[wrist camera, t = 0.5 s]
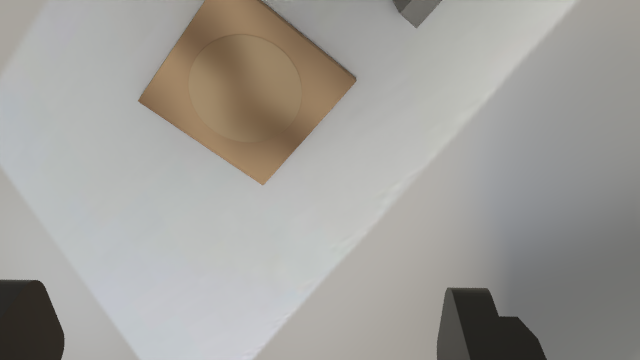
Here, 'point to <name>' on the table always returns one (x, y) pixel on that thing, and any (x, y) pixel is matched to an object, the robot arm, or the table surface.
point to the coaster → (246, 85)
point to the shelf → (416, 9)
